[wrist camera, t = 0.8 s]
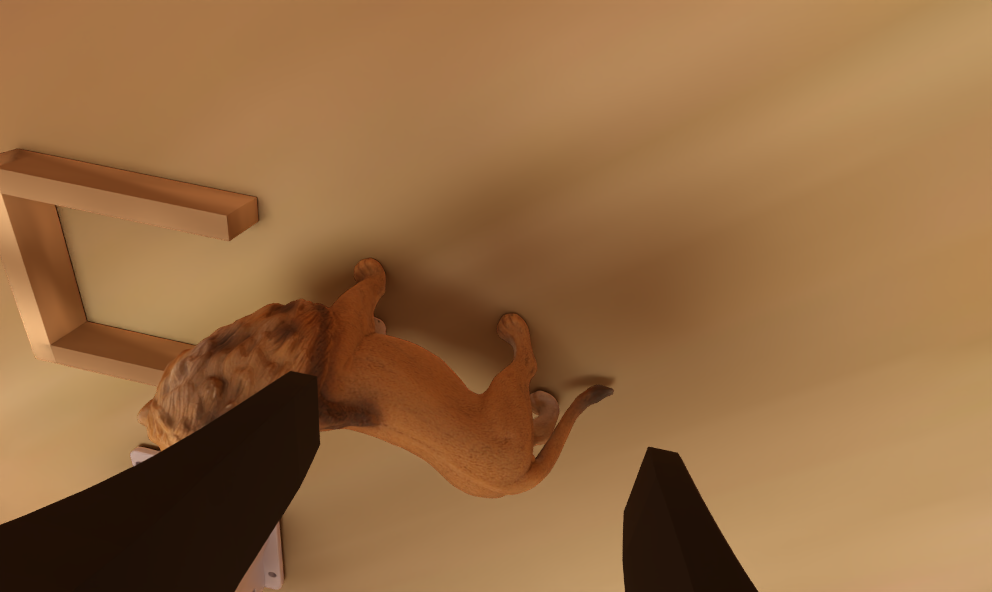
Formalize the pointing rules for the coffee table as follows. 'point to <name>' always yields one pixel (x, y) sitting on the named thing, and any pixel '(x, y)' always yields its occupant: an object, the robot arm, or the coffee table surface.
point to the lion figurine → (375, 389)
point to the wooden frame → (46, 264)
